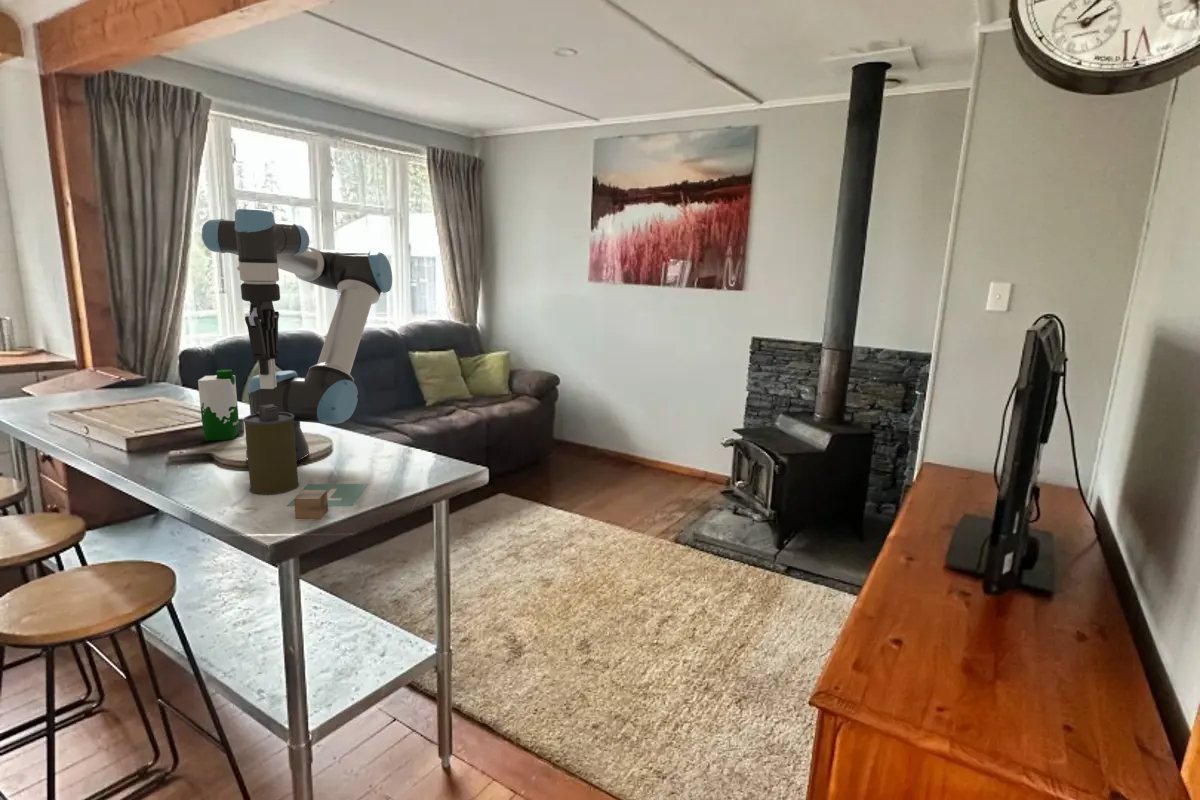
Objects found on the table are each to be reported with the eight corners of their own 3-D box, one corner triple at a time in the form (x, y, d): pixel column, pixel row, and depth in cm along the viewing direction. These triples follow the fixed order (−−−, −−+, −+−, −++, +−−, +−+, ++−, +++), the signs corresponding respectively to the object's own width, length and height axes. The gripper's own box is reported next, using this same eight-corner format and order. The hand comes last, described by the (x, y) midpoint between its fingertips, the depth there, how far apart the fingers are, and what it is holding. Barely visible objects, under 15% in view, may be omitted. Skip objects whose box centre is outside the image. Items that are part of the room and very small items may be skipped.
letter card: (308, 485, 150) (308, 483, 150) (368, 485, 152) (368, 483, 152) (286, 507, 136) (286, 506, 136) (352, 507, 138) (352, 505, 138)
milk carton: (235, 440, 183) (229, 373, 178) (200, 441, 180) (193, 373, 176) (242, 432, 191) (237, 367, 187) (209, 433, 188) (202, 368, 184)
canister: (306, 488, 148) (301, 406, 143) (259, 500, 140) (252, 413, 136) (287, 477, 155) (281, 398, 150) (241, 487, 147) (234, 404, 143)
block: (304, 511, 135) (302, 490, 134) (328, 511, 135) (326, 490, 134) (295, 521, 130) (293, 498, 129) (320, 521, 131) (319, 498, 129)
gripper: (254, 280, 143) (263, 381, 148) (227, 283, 130) (237, 394, 135) (289, 281, 144) (296, 381, 149) (265, 284, 131) (274, 394, 136)
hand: (268, 387), depth 142 cm, fingers closed
